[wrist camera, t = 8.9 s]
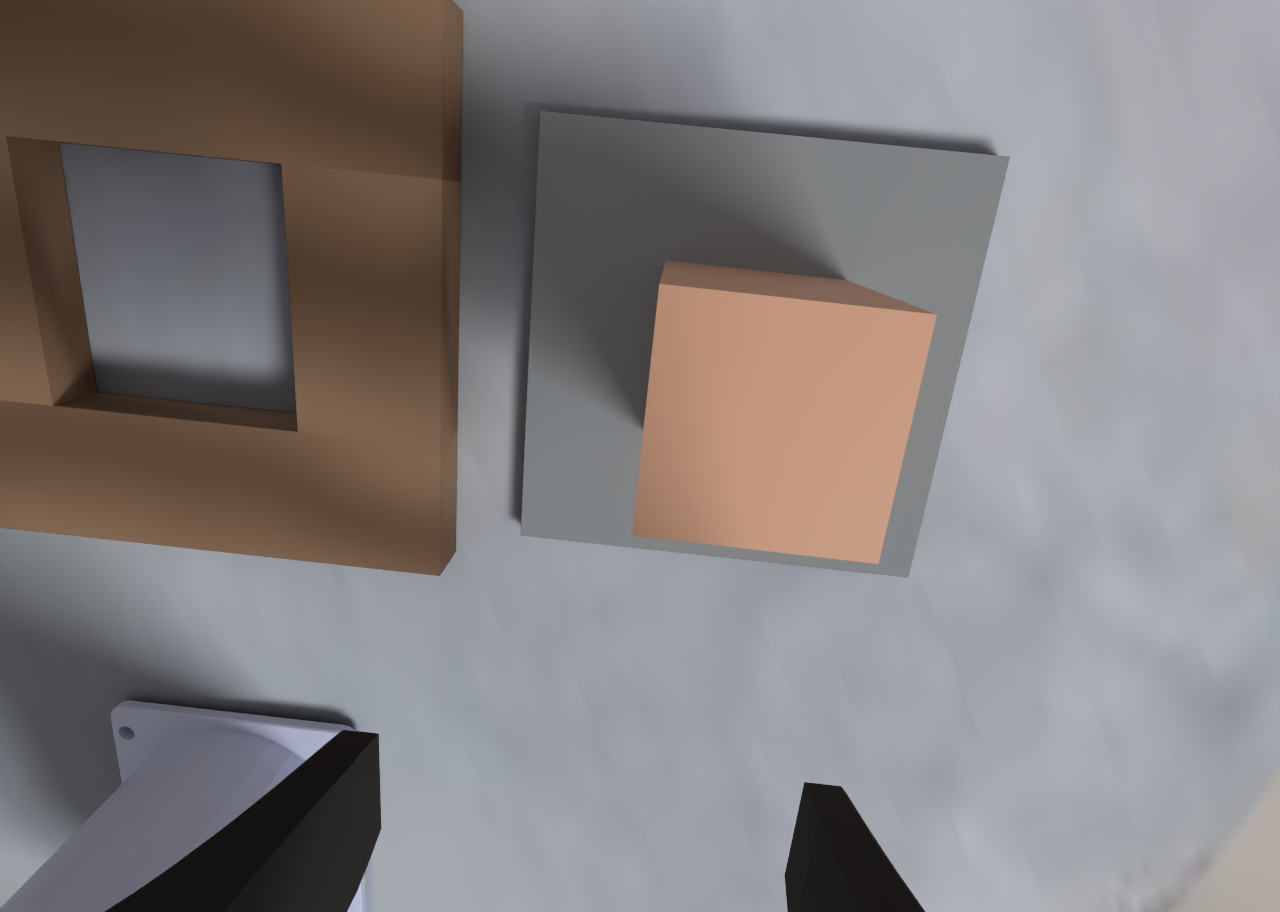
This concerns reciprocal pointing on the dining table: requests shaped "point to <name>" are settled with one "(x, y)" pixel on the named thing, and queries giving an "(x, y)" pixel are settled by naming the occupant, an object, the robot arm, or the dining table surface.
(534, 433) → the mat
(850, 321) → the block
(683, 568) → the dining table surface
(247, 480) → the holder
